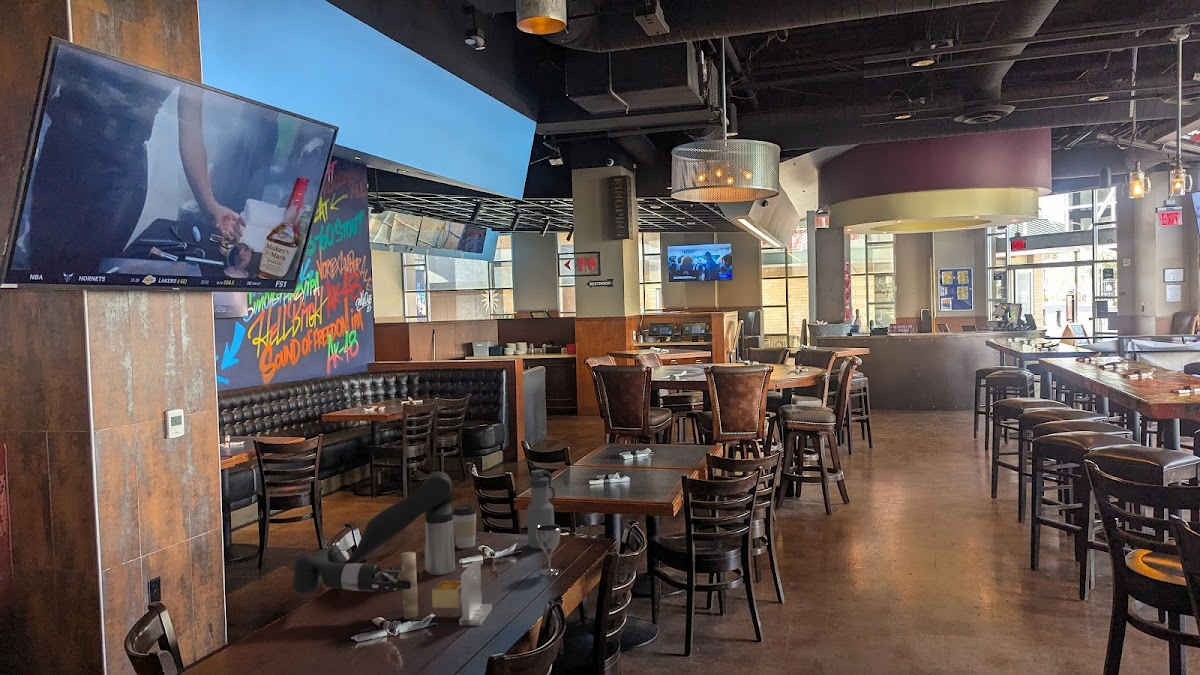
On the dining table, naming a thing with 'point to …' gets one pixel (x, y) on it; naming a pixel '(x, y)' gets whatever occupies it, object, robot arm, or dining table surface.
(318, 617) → the dining table surface
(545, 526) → the wine glass
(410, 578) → the rail post
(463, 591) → the cup bracket
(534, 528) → the water bottle
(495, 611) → the dining table surface
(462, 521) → the coffee cup
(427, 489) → the robot arm
